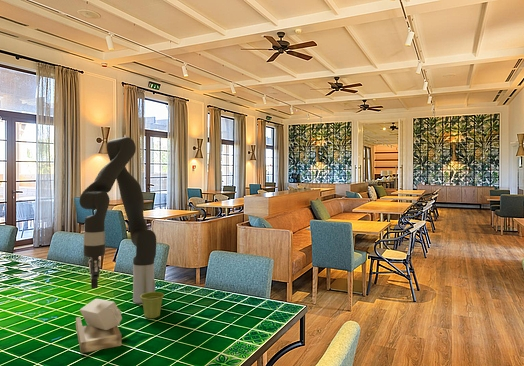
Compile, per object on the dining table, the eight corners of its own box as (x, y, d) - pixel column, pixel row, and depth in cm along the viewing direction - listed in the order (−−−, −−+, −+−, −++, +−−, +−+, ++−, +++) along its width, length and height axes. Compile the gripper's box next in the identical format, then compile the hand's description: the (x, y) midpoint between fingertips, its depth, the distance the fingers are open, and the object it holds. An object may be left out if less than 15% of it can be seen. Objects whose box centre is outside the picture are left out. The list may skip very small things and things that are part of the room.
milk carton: (87, 325, 149) (111, 332, 136) (79, 309, 147) (102, 314, 134) (103, 313, 154) (128, 319, 141) (95, 298, 152) (120, 302, 140)
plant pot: (139, 313, 162) (139, 292, 162) (162, 310, 166) (162, 290, 166) (140, 321, 154) (141, 299, 154) (165, 318, 157) (165, 297, 157)
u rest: (111, 320, 154) (111, 312, 154) (121, 345, 132) (121, 335, 132) (75, 326, 148) (75, 317, 148) (80, 353, 126) (80, 342, 126)
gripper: (107, 245, 145) (107, 291, 145) (102, 239, 156) (102, 282, 157) (85, 246, 141) (85, 294, 142) (82, 240, 153) (82, 284, 153)
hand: (94, 287), depth 149 cm, fingers closed
